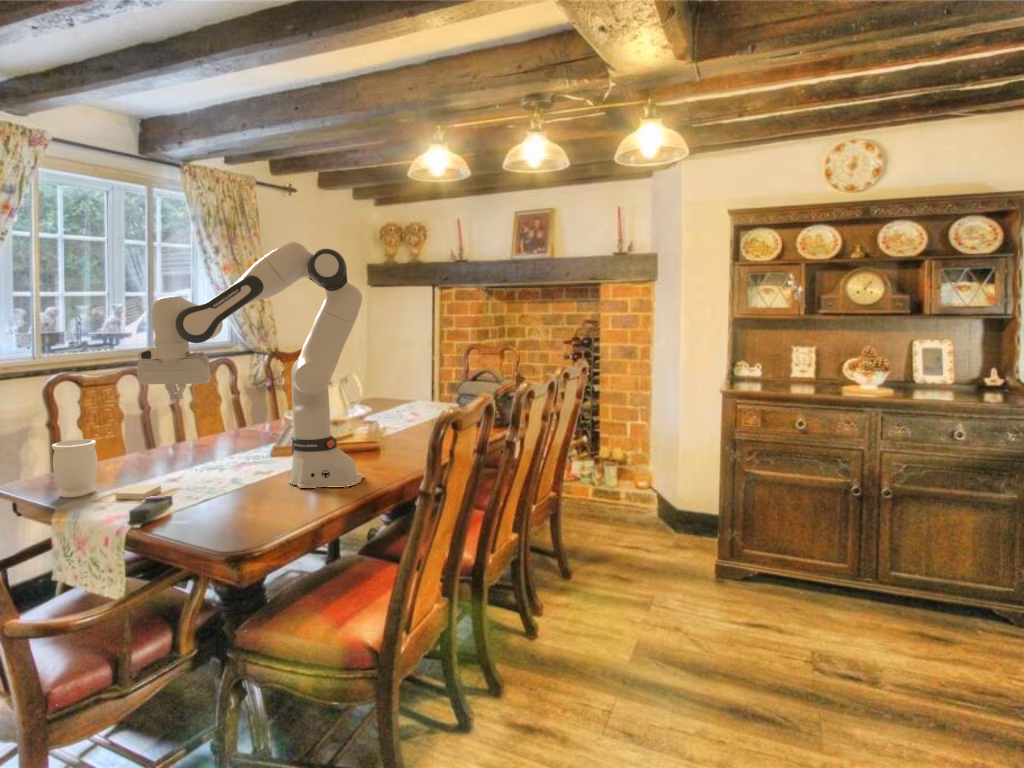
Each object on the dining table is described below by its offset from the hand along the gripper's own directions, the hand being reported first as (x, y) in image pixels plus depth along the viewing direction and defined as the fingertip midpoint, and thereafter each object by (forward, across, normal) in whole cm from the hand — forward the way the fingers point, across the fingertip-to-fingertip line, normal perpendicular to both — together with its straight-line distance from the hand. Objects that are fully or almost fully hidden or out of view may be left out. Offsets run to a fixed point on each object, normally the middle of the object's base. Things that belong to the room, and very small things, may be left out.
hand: (176, 399), depth 183 cm
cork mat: (+26, +7, +11) cm, 29 cm away
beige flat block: (+25, +3, +11) cm, 27 cm away
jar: (+26, +26, +8) cm, 38 cm away
